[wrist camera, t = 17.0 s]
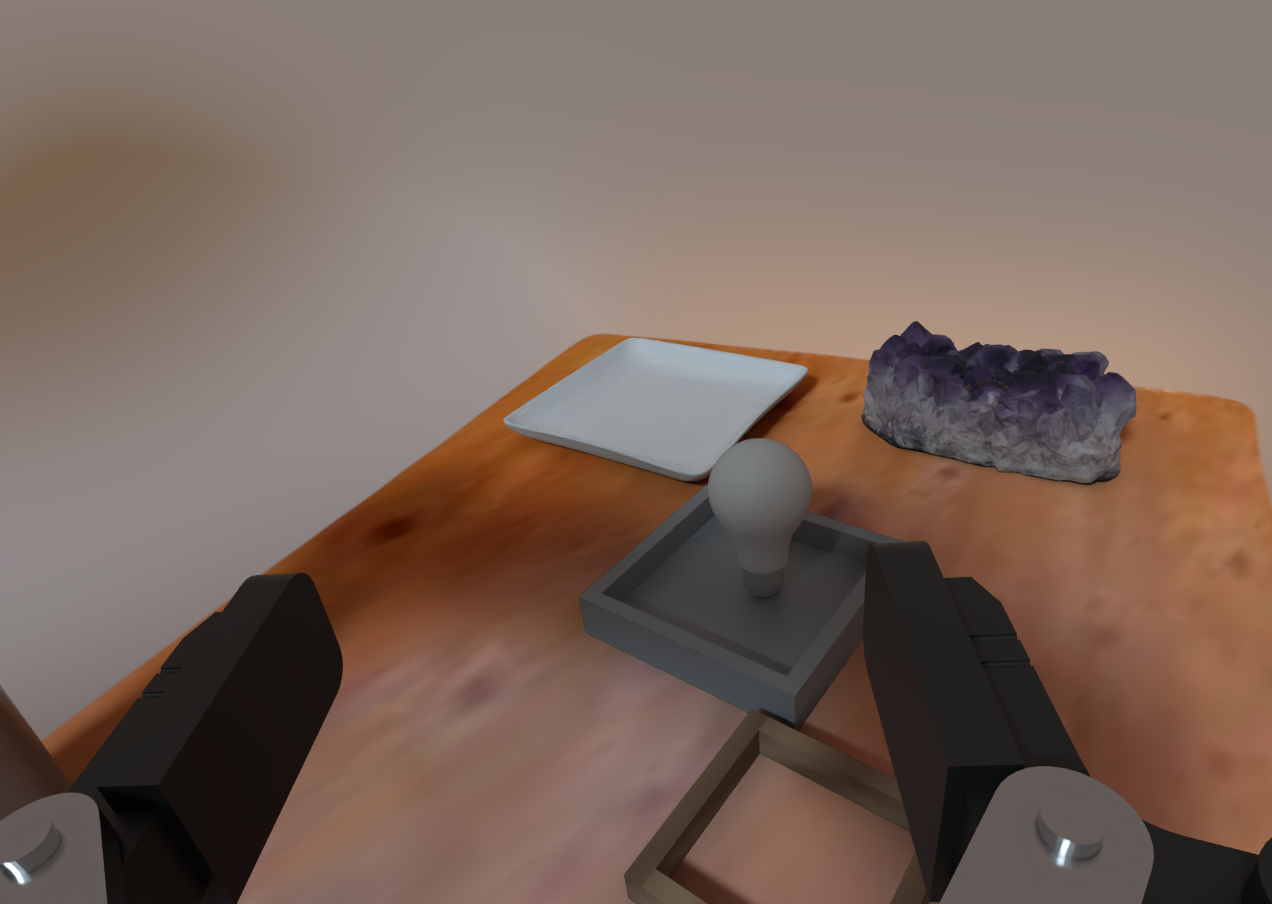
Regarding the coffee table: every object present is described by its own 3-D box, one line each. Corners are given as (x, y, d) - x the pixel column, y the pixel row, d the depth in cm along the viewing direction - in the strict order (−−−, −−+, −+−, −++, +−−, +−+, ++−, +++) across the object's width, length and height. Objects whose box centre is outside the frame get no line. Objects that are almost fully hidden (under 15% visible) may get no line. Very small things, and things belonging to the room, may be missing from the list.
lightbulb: (762, 552, 55) (756, 410, 50) (833, 592, 51) (834, 441, 45) (696, 594, 52) (682, 447, 46) (765, 640, 47) (758, 484, 42)
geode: (837, 459, 66) (841, 342, 62) (876, 413, 75) (882, 308, 71) (1121, 502, 56) (1145, 365, 52) (1127, 443, 65) (1149, 323, 61)
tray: (585, 632, 51) (578, 596, 50) (712, 513, 61) (710, 481, 60) (794, 735, 43) (794, 696, 41) (904, 578, 53) (907, 542, 51)
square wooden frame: (628, 897, 36) (624, 874, 35) (752, 731, 43) (751, 708, 42) (857, 1061, 30) (859, 1038, 29) (958, 835, 37) (962, 811, 36)
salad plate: (813, 394, 77) (813, 362, 75) (704, 509, 62) (701, 472, 61) (632, 361, 88) (629, 333, 86) (504, 453, 73) (497, 420, 72)
